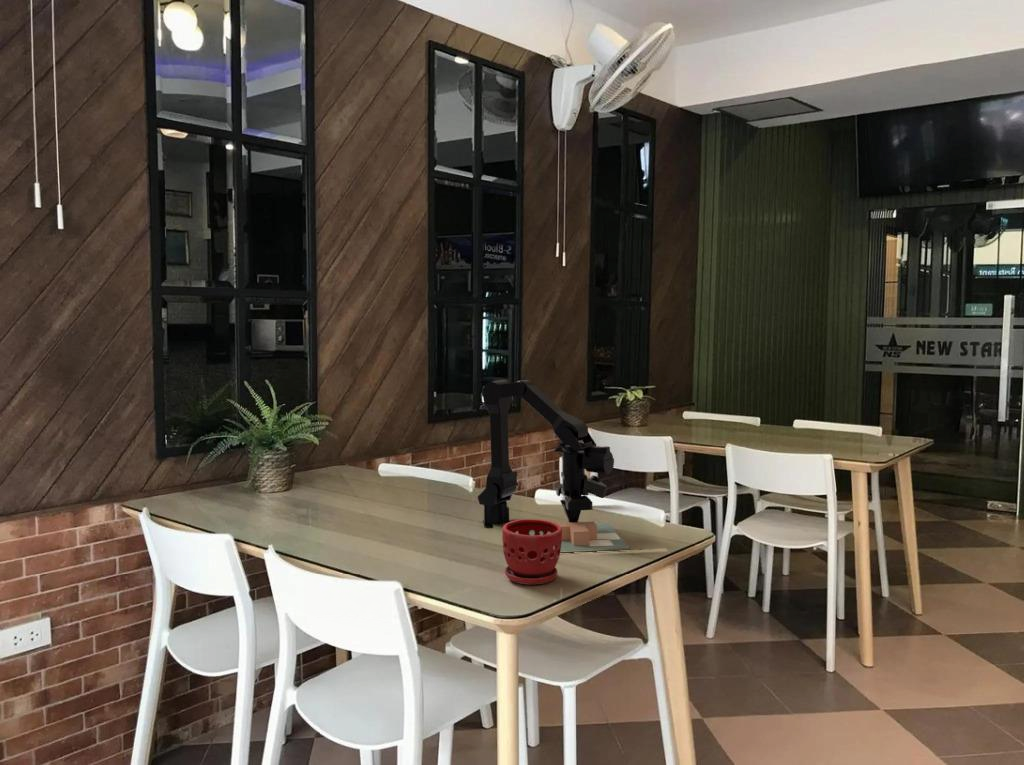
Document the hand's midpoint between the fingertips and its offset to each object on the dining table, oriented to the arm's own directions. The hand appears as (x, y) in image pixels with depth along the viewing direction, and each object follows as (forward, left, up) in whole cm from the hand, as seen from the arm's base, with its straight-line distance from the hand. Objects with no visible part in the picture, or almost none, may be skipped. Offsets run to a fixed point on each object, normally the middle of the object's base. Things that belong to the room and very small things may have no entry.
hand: (573, 529), depth 220 cm
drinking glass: (+5, +32, -2) cm, 32 cm away
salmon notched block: (0, -6, -1) cm, 6 cm away
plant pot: (-15, -31, -2) cm, 35 cm away
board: (0, -2, -2) cm, 3 cm away
